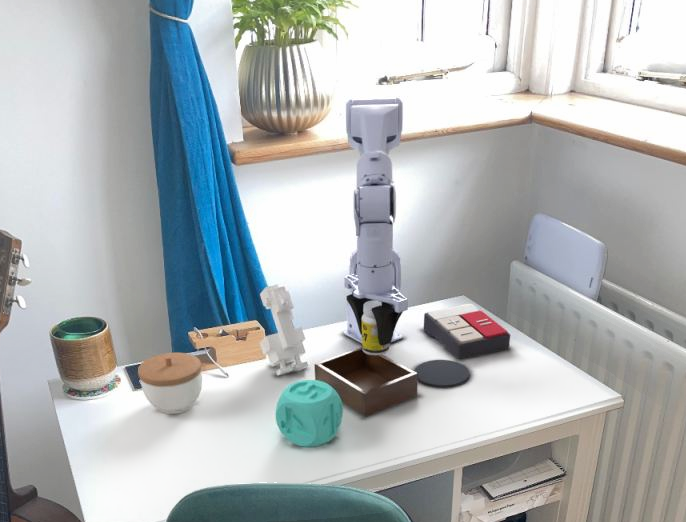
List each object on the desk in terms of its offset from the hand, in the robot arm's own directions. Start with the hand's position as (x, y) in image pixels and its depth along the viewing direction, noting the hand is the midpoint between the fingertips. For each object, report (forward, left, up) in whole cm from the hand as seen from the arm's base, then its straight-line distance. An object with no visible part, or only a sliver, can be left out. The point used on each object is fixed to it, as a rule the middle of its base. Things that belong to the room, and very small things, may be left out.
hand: (375, 338), depth 137 cm
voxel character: (-17, -8, -10) cm, 22 cm away
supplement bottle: (0, 0, -2) cm, 2 cm away
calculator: (-4, +26, -10) cm, 28 cm away
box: (0, -2, -10) cm, 10 cm away
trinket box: (-17, -31, -10) cm, 37 cm away
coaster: (+4, +13, -10) cm, 16 cm away
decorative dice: (+6, -18, -10) cm, 21 cm away
